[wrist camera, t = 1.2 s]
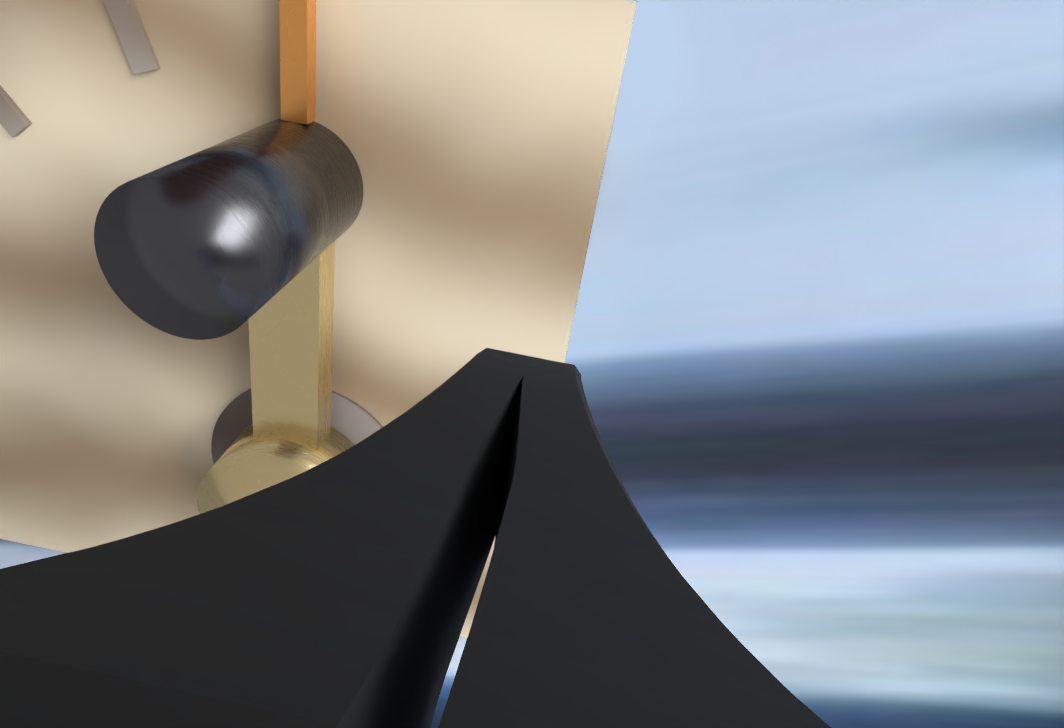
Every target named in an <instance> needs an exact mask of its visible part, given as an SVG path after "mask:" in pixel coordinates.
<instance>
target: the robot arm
mask: <svg viewBox="0 0 1064 728" xmlns="http://www.w3.org/2000/svg"><path fill="white" fill-rule="evenodd" d="M494 539H495V544H494V550H493V554H492V557H491V561H490V564H489V568H488V571H487V575H486V578H485V581H484V585H483V588H482V591H481V595H480V598H479V601H478V605H477V608H476V611H475V615H474V618H473V621H472V625H471V628H470V631H469V635H468V638H467V641H466V644H465V647H464V650H463V653H462V657H461V660H460V663H459V666H458V669H457V672H456V675H455V679H454V682H453V685H452V688H451V691H450V694H449V697H448V701H447V704H446V707H445V710H444V713H443V716H442V719H441V722H440V725H439V728H831V727H830V726H828V725H827V724H826V723H825V722H824V721H823V720H822V719H820V718H819V717H818V716H817V715H816V714H815V713H813V712H812V711H811V710H810V709H809V708H808V707H807V706H805V705H804V704H803V703H802V702H801V701H800V700H798V699H797V698H796V697H795V696H794V695H793V694H792V693H791V692H790V691H789V690H788V689H787V688H786V687H784V686H783V685H782V684H781V683H780V682H779V681H778V680H777V679H776V678H775V677H774V676H773V675H772V674H771V673H770V672H769V671H768V670H767V669H766V668H765V667H764V666H763V665H762V664H761V663H760V662H759V661H758V660H757V659H756V658H755V657H754V656H753V655H752V654H751V653H750V652H749V651H748V650H747V649H746V648H745V647H744V646H743V645H742V644H741V643H740V642H739V641H738V640H737V638H736V637H735V636H734V635H733V634H732V633H731V632H730V631H729V630H728V629H727V628H726V627H725V626H724V624H723V623H722V622H721V621H720V620H719V619H718V618H717V617H716V615H715V614H714V613H713V612H712V611H711V610H710V608H709V607H708V606H707V605H706V604H705V602H704V601H703V600H702V599H701V598H700V597H699V595H698V594H697V593H696V592H695V591H694V590H693V588H692V587H691V586H690V585H689V584H688V582H687V581H686V580H685V579H684V578H683V577H682V575H681V574H680V573H679V571H678V570H677V569H676V567H675V566H674V565H673V563H672V562H671V561H670V559H669V558H668V557H667V555H666V554H665V552H664V551H663V549H662V548H661V546H660V545H659V543H658V542H657V541H656V539H655V538H654V536H653V535H652V533H651V532H650V530H649V529H648V527H647V526H646V524H645V522H644V521H643V519H642V517H641V516H640V514H639V513H638V511H637V509H636V507H635V506H634V504H633V502H632V501H631V499H630V497H629V495H628V493H627V491H626V490H625V488H624V486H623V484H622V482H621V480H620V479H619V477H618V475H617V473H616V471H615V469H614V467H613V465H612V463H611V460H610V458H609V456H608V454H607V452H606V449H605V447H604V445H603V442H602V440H601V438H600V436H599V433H598V431H597V429H596V426H595V423H594V421H593V418H592V415H591V412H590V409H589V407H588V404H587V401H586V397H585V394H584V390H583V386H582V381H581V374H580V373H579V371H578V370H577V368H576V367H575V365H572V364H567V363H562V362H556V361H551V360H546V359H541V358H536V357H531V356H526V355H521V354H516V353H511V352H506V351H501V350H496V349H491V348H486V349H484V350H482V351H481V352H479V353H478V354H477V355H475V356H474V357H473V358H472V359H471V360H470V361H469V362H468V363H466V364H465V365H464V366H463V367H462V368H461V369H460V370H458V371H457V372H456V373H455V374H454V375H453V376H451V377H450V378H449V379H448V380H446V381H445V382H444V383H443V384H442V385H440V386H439V387H438V388H437V389H435V390H434V391H433V392H431V393H430V394H429V395H427V396H426V397H425V398H423V399H422V400H421V401H419V402H418V403H417V404H415V405H414V406H413V407H411V408H410V409H409V410H407V411H406V412H405V413H403V414H402V415H400V416H399V417H397V418H396V419H394V420H393V421H391V422H390V423H388V424H387V425H385V426H384V427H382V428H381V429H379V430H377V431H376V432H374V433H373V434H371V435H370V436H368V437H367V438H365V439H364V440H362V441H360V442H359V443H357V444H356V445H354V446H352V447H350V448H349V449H347V450H345V451H344V452H342V453H340V454H338V455H336V456H335V457H333V458H331V459H329V460H327V461H325V462H323V463H321V464H319V465H317V466H315V467H313V468H311V469H309V470H307V471H305V472H303V473H301V474H299V475H296V476H294V477H292V478H290V479H287V480H285V481H283V482H280V483H278V484H275V485H273V486H270V487H268V488H265V489H263V490H261V491H258V492H256V493H253V494H251V495H248V496H246V497H244V498H241V499H239V500H236V501H234V502H231V503H229V504H227V505H224V506H222V507H219V508H216V509H213V510H211V511H208V512H205V513H202V514H199V515H196V516H193V517H190V518H187V519H184V520H181V521H178V522H175V523H172V524H169V525H166V526H163V527H159V528H156V529H153V530H150V531H146V532H143V533H140V534H136V535H133V536H130V537H127V538H123V539H120V540H116V541H112V542H109V543H105V544H102V545H98V546H94V547H91V548H86V549H82V550H78V551H74V552H70V553H66V554H61V555H57V556H53V557H49V558H45V559H40V560H36V561H32V562H28V563H24V564H20V565H15V566H11V567H7V568H3V569H0V728H430V727H431V723H432V719H433V715H434V711H435V708H436V704H437V701H438V698H439V695H440V691H441V688H442V685H443V682H444V679H445V675H446V672H447V670H448V667H449V664H450V661H451V659H452V656H453V653H454V650H455V647H456V645H457V642H458V639H459V636H460V634H461V631H462V628H463V625H464V622H465V620H466V617H467V614H468V611H469V609H470V606H471V603H472V600H473V597H474V595H475V592H476V589H477V586H478V584H479V581H480V578H481V575H482V572H483V570H484V567H485V564H486V561H487V558H488V556H489V553H490V550H491V547H492V544H493V541H494Z"/></svg>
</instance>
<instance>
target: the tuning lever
mask: <svg viewBox="0 0 1064 728" xmlns="http://www.w3.org/2000/svg"><path fill="white" fill-rule="evenodd" d="M279 25H280V94H281V118H280V119H276V120H273V121H270V122H268V123H266V124H263V125H261V126H259V127H256V128H254V129H251V130H249V131H247V132H244V133H242V134H240V135H237V136H235V137H233V138H230V139H228V140H225V141H223V142H221V143H218V144H216V145H214V146H211V147H209V148H206V149H204V150H202V151H199V152H197V153H195V154H192V155H190V156H187V157H185V158H183V159H180V160H178V161H176V162H173V163H171V164H168V165H166V166H164V167H161V168H159V169H157V170H154V171H152V172H149V173H147V174H145V175H142V176H140V177H138V178H135V179H133V180H130V181H128V182H126V183H124V184H122V185H120V186H118V187H117V188H116V189H115V190H113V191H112V192H111V193H110V194H109V195H108V196H107V198H106V199H105V200H104V202H103V203H102V205H101V207H100V209H99V211H98V214H97V216H96V221H95V226H94V244H95V250H96V255H97V259H98V262H99V265H100V268H101V270H102V272H103V274H104V276H105V278H106V280H107V282H108V283H109V285H110V287H111V288H112V290H113V291H114V292H115V294H116V295H117V296H118V298H119V299H120V300H121V301H122V302H123V303H124V304H125V305H126V306H127V307H128V308H129V309H130V310H131V311H132V312H133V313H134V314H135V315H137V316H138V317H139V318H141V319H142V320H143V321H145V322H147V323H148V324H150V325H151V326H153V327H155V328H157V329H159V330H161V331H163V332H165V333H168V334H171V335H173V336H177V337H181V338H186V339H193V340H207V339H214V338H218V337H222V336H225V335H227V334H229V333H231V332H233V331H235V330H236V329H238V328H239V327H240V326H241V325H242V324H244V323H245V322H246V321H247V320H248V322H249V347H250V371H251V396H252V420H253V423H252V424H250V425H249V426H248V427H246V428H245V429H244V430H243V431H242V433H241V434H240V435H239V436H238V437H237V438H236V440H235V441H234V442H233V443H232V444H231V445H230V447H229V448H228V449H227V450H226V451H225V452H224V454H223V455H222V456H221V457H220V458H219V459H218V461H217V462H216V463H215V464H214V465H213V466H212V468H211V469H210V470H209V471H208V472H207V474H206V475H205V476H204V478H203V479H202V481H201V483H200V486H199V489H198V494H197V507H198V513H199V514H202V513H205V512H208V511H211V510H213V509H216V508H219V507H222V506H224V505H227V504H229V503H231V502H234V501H236V500H239V499H241V498H244V497H246V496H248V495H251V494H253V493H256V492H258V491H261V490H263V489H265V488H268V487H270V486H273V485H275V484H278V483H280V482H283V481H285V480H287V479H290V478H292V477H294V476H296V475H299V474H301V473H303V472H305V471H307V470H309V469H311V468H313V467H315V466H317V465H319V464H321V463H323V462H325V461H327V460H329V459H331V458H333V457H335V456H336V455H338V454H340V453H342V452H344V451H345V450H347V449H349V448H350V447H352V446H354V444H353V443H352V442H351V441H350V440H349V439H348V438H347V437H346V436H344V435H343V434H342V433H340V432H339V431H337V430H336V429H334V428H333V427H331V401H332V356H333V311H334V267H335V240H337V239H338V238H339V237H340V236H341V235H342V234H343V233H344V232H345V231H347V230H348V229H349V228H350V227H351V225H352V224H353V223H354V222H355V220H356V218H357V217H358V215H359V212H360V210H361V206H362V202H363V194H364V192H363V180H362V175H361V172H360V168H359V166H358V163H357V161H356V159H355V157H354V156H353V154H352V152H351V151H350V149H349V148H348V146H347V145H346V144H345V143H344V142H343V141H342V140H341V139H340V138H339V137H338V136H337V135H336V134H335V133H334V132H332V131H331V130H329V129H328V128H326V127H325V126H323V125H321V124H319V123H317V122H314V121H315V107H316V0H279Z"/></svg>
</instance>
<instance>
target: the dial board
mask: <svg viewBox="0 0 1064 728" xmlns="http://www.w3.org/2000/svg"><path fill="white" fill-rule="evenodd" d="M636 4H637V1H632V0H316V107H315V121H314V122H317V123H319V124H321V125H323V126H325V127H326V128H328V129H329V130H331V131H332V132H334V133H335V134H336V135H337V136H338V137H339V138H340V139H341V140H342V141H343V142H344V143H345V144H346V145H347V146H348V148H349V149H350V151H351V152H352V154H353V156H354V157H355V159H356V161H357V163H358V166H359V168H360V172H361V175H362V180H363V192H364V194H363V202H362V206H361V210H360V212H359V215H358V217H357V218H356V220H355V222H354V223H353V224H352V225H351V227H350V228H349V229H348V230H347V231H345V232H344V233H343V234H342V235H341V236H340V237H339V238H338V239H337V240H335V267H334V311H333V356H332V401H331V427H333V428H334V429H336V430H337V431H339V432H340V433H342V434H343V435H344V436H346V437H347V438H348V439H349V440H350V441H351V442H352V443H353V444H354V445H356V444H357V443H359V442H360V441H362V440H364V439H365V438H367V437H368V436H370V435H371V434H373V433H374V432H376V431H377V430H379V429H381V428H382V427H384V426H385V425H387V424H388V423H390V422H391V421H393V420H394V419H396V418H397V417H399V416H400V415H402V414H403V413H405V412H406V411H407V410H409V409H410V408H411V407H413V406H414V405H415V404H417V403H418V402H419V401H421V400H422V399H423V398H425V397H426V396H427V395H429V394H430V393H431V392H433V391H434V390H435V389H437V388H438V387H439V386H440V385H442V384H443V383H444V382H445V381H446V380H448V379H449V378H450V377H451V376H453V375H454V374H455V373H456V372H457V371H458V370H460V369H461V368H462V367H463V366H464V365H465V364H466V363H468V362H469V361H470V360H471V359H472V358H473V357H474V356H475V355H477V354H478V353H479V352H481V351H482V350H484V349H486V348H491V349H496V350H501V351H506V352H511V353H516V354H521V355H526V356H531V357H536V358H541V359H546V360H551V361H556V362H562V363H564V362H565V357H566V352H567V347H568V342H569V337H570V332H571V327H572V322H573V317H574V312H575V307H576V302H577V297H578V292H579V287H580V282H581V277H582V273H583V268H584V263H585V258H586V253H587V248H588V243H589V238H590V233H591V228H592V223H593V218H594V213H595V208H596V203H597V198H598V193H599V188H600V183H601V178H602V173H603V168H604V163H605V158H606V153H607V148H608V143H609V138H610V133H611V128H612V123H613V118H614V113H615V108H616V103H617V98H618V93H619V88H620V83H621V78H622V73H623V68H624V63H625V59H626V54H627V49H628V44H629V39H630V34H631V29H632V24H633V19H634V14H635V9H636ZM280 118H281V94H280V25H279V0H0V539H4V540H9V541H13V542H18V543H23V544H28V545H32V546H37V547H42V548H46V549H51V550H56V551H60V552H65V553H70V552H74V551H78V550H82V549H86V548H91V547H94V546H98V545H102V544H105V543H109V542H112V541H116V540H120V539H123V538H127V537H130V536H133V535H136V534H140V533H143V532H146V531H150V530H153V529H156V528H159V527H163V526H166V525H169V524H172V523H175V522H178V521H181V520H184V519H187V518H190V517H193V516H196V515H199V513H198V507H197V494H198V489H199V486H200V483H201V481H202V479H203V478H204V476H205V475H206V474H207V472H208V471H209V470H210V469H211V468H212V466H213V465H214V464H215V463H216V462H217V461H218V459H219V458H220V457H221V456H222V455H223V454H224V452H225V451H226V450H227V449H228V448H229V447H230V445H231V444H232V443H233V442H234V441H235V440H236V438H237V437H238V436H239V435H240V434H241V433H242V431H243V430H244V429H245V428H246V427H248V426H249V425H250V424H252V423H253V420H252V396H251V371H250V347H249V322H248V320H247V321H246V322H245V323H244V324H242V325H241V326H240V327H239V328H238V329H236V330H235V331H233V332H231V333H229V334H227V335H225V336H222V337H218V338H214V339H207V340H193V339H186V338H181V337H177V336H173V335H171V334H168V333H165V332H163V331H161V330H159V329H157V328H155V327H153V326H151V325H150V324H148V323H147V322H145V321H143V320H142V319H141V318H139V317H138V316H137V315H135V314H134V313H133V312H132V311H131V310H130V309H129V308H128V307H127V306H126V305H125V304H124V303H123V302H122V301H121V300H120V299H119V298H118V296H117V295H116V294H115V292H114V291H113V290H112V288H111V287H110V285H109V283H108V282H107V280H106V278H105V276H104V274H103V272H102V270H101V268H100V265H99V262H98V259H97V255H96V250H95V244H94V226H95V221H96V216H97V214H98V211H99V209H100V207H101V205H102V203H103V202H104V200H105V199H106V198H107V196H108V195H109V194H110V193H111V192H112V191H113V190H115V189H116V188H117V187H118V186H120V185H122V184H124V183H126V182H128V181H130V180H133V179H135V178H138V177H140V176H142V175H145V174H147V173H149V172H152V171H154V170H157V169H159V168H161V167H164V166H166V165H168V164H171V163H173V162H176V161H178V160H180V159H183V158H185V157H187V156H190V155H192V154H195V153H197V152H199V151H202V150H204V149H206V148H209V147H211V146H214V145H216V144H218V143H221V142H223V141H225V140H228V139H230V138H233V137H235V136H237V135H240V134H242V133H244V132H247V131H249V130H251V129H254V128H256V127H259V126H261V125H263V124H266V123H268V122H270V121H273V120H276V119H280ZM494 544H495V539H494V541H493V544H492V547H491V550H490V553H489V556H488V558H487V561H486V564H485V567H484V570H483V572H482V575H481V578H480V581H479V584H478V586H477V589H476V592H475V595H474V597H473V600H472V603H471V606H470V609H469V611H468V614H467V617H466V620H465V622H464V625H463V628H462V631H461V634H460V636H459V637H463V638H468V635H469V631H470V628H471V625H472V621H473V618H474V615H475V611H476V608H477V605H478V601H479V598H480V595H481V591H482V588H483V585H484V581H485V578H486V575H487V571H488V568H489V564H490V561H491V557H492V554H493V550H494Z"/></svg>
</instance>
